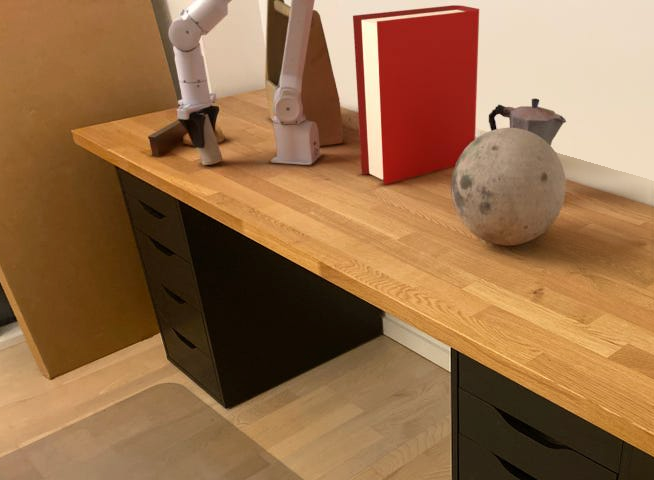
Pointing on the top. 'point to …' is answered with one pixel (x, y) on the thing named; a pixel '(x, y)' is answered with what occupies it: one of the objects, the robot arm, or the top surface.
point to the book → (415, 89)
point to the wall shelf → (167, 138)
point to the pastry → (218, 135)
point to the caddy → (305, 73)
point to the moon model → (508, 186)
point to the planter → (209, 144)
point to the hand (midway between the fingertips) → (204, 143)
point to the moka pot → (530, 119)
